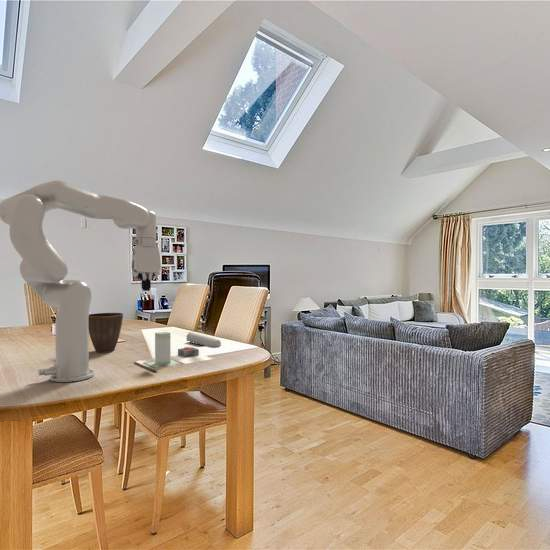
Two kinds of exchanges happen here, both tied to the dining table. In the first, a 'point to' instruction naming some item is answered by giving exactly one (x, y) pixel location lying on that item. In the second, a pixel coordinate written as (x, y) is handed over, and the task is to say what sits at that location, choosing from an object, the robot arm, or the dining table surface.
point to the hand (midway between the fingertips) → (146, 290)
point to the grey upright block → (162, 348)
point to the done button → (187, 348)
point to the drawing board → (174, 360)
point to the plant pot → (105, 330)
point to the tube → (203, 340)
